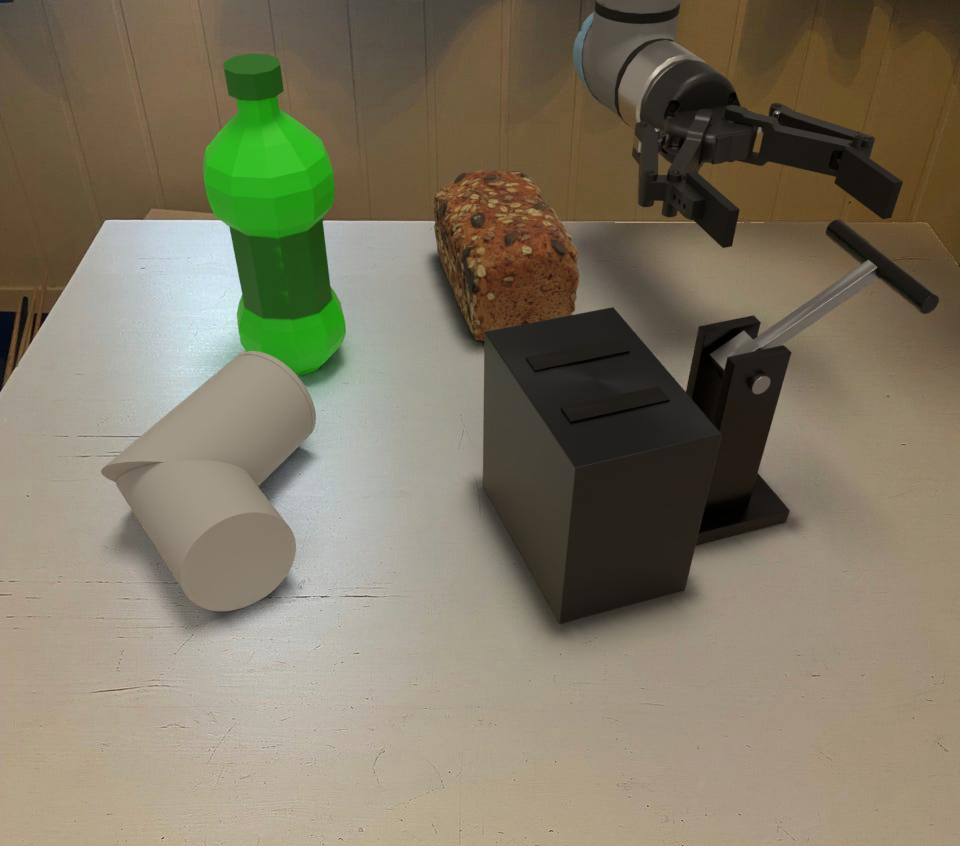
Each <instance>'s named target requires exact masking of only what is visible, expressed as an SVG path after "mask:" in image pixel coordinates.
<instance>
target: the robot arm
mask: <svg viewBox="0 0 960 846" xmlns="http://www.w3.org/2000/svg"><path fill="white" fill-rule="evenodd" d="M681 1H682V0H595V1H594V6H593V12H592V13H591V14H589V15H588V17H586V19H585V20H584V21H583V23H582V25H581V27H580V30H579V31H578V33H577V35H576V38H575V40H574V44H573V50H572V59H573V66H574V70H575V73H576V75H577V77H578V79H579V80H580V81H581V83H582V84H583V85H584V86H585V88H586V89H587V91H588V92H589V93H590V95H591V97H592V98H593V99H594V100H596V101H597V103H599V104H601V105H603V107H606V108H608V110H610V111H611V112H613V113H614V114H615V115H617V116H618V117H619V118H620V119H621V120H622V121H623V122H624V123H625V125H627V126H628V127H629V128H631V129H632V130H634V134H633V142H632V151H631V157H632V158H633V160H635V162H636V163H637V164H638V187H637V188H638V189H637V204H638V206H640V207H642V208H651V207H653V206H654V205H655V201H656V202H662V205H661V206H662V207H661V215H662V216H663V217H666V218H675V217H677V216H678V212H679V214H680V215H681V216H682V217H683V218H685V219H687V220H689V221H693V222H695V224H696V225H697V226H698V227H700V229H702V230H703V232H705V233H706V234H707V235H708V236H709V237H710V238H711V239H712V240H713V241H715V243H717V244H718V245H719V246H720V247H721V248H722V249H726V248H731V247H733V244H734V240H735V239H734V238H735V234H736V230H737V226H738V225H737V224H738V220H739V216H740V211H741V210H740V208H739V207H737V206H736V205H735V204H734V203H733V202H732V201H731V200H730V199H728V198H727V197H726V196H725V195H724V194H723V193H722V192H720V191H719V190H718V189H717V188H716V187H715V186H714V185H712V184H711V183H710V182H709V181H708V180H706V178H704V177H703V176H702V175H701V174H700V173H699V172H700V169H701V168H702V167H703V166H704V165H705V164H711V165H720V164H724V163H726V162H727V163H734V162H736V161H737V162H741V163H745V164H750V165H754V166H758V167H764V166H765V165H766V164H767V163H768V162H769V163H774V164H777V165H781V166H782V165H783V166H787V167H792V168H795V169H800V170H804V171H807V172H808V171H809V172H813V173H817V174H821V175H826V176H831V177H835V179H834V184H835V185H836V186H837V187H839V188H840V189H841V190H843V192H846V193H847V195H850V196H851V198H853V199H854V200H856V201H857V202H859V203H860V204H861V205H862V206H864V207H865V208H867V210H869V211H871V212H872V213H873V214H874V215H876V216H877V217H879V218H880V219H881V220H887V219H892V217H893V213H894V211H895V208H896V205H897V202H898V199H899V195H900V192H901V189H902V186H903V184H904V181H903V180H902V179H900V178H899V177H897V176H896V175H894V174H893V173H891V172H890V171H889V170H888V169H885V167H883V166H881V164H878V163H877V162H876V161H874V160H873V159H871V155H872V152H873V148H874V145H875V141H876V137H875V136H873V135H870V134H867V133H864V132H861V131H859V130H854V129H851V128H848V127H845V126H843V125H840V124H835V123H833V122H830V121H826V120H823V119H821V118H817V117H814V116H812V115H811V116H810V115H808V114H804V113H801V112H799V111H797V110H794V109H792V108H790V107H789V106H787V105H785V104H783V103H780V102H773V103H771V104H770V105H769V110H768V113H767V114H761V113H757V112H754V111H752V110H749V109H748V108H747V107H745V106H741V103H740V100H739V97H738V93H737V91H736V89H735V87H734V85H733V83H732V82H731V81H730V80H729V78H728V77H726V76H725V75H723V74H722V73H720V72H719V71H718V70H717V69H715V68H714V67H712V66H711V65H709V64H708V63H707V62H706V61H705V60H704V59H702V58H700V57H699V56H698V55H696V54H694V53H693V52H692V51H690V50H689V49H687V48H685V46H682V45H681V43H679V42H678V41H676V33H677V27H678V20H679V14H680V8H681ZM758 134H762V137H761V141H760V147H759V151H757V152H756V151H754V149H755V145H756V141H757V137H758ZM659 155H660V156H661V157H662V158H663V159H664V160H665V161H667V162H668V163H669V164H670V165H669V167H668V169H667V174H659Z"/></svg>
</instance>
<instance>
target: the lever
mask: <svg viewBox="0 0 960 846" xmlns="http://www.w3.org/2000/svg"><path fill="white" fill-rule="evenodd" d="M825 235H826V237H827V238H828V239H829V240H830V241H832V242H833V243H834V244H835V245H837V246H838V247H839V248H841V249H842V250H843V251H844V252H845V253H847V254H848V255H849V256H850V257H852V258H853V259H854V261H856V262H858V263H859V264H860V265H858V266H857V267H855V268H854V269H852V270H851V271H850V272H848V273H847V274H845V275H844V276H842V277H840V278H839V279H837V281H835V282H834V283H832V284H831V285H829V286H828V287H826V288H825V289H824V290H822V291H821V292H820V293H818V294H816V295H815V296H814V297H812V298H811V299H809V300H808V301H806V302H805V303H804V304H802V305H800V306H799V307H798V308H797V309H795V310H793V311H792V312H790V313H789V314H787V315H786V316H785V317H783V318H782V319H781V320H779V321H777V322H776V323H775V324H774V325H772V326H770V327H769V328H768V329H766V330H764V331H763V332H762V333H760V334H758V336H757V337H756V338H755V339H752V338H751V337H750V336H749V335H748V334H747V333H746V332H745V331H742V332H741V333H739V334H738V335H737V336H735V337H734V338H732V339H731V340H729V341H728V342H727V343H725V344H724V345H722V346H721V347H719V348H718V349H717V350H715V351H714V352H712V353H711V354H710V357H711V359H712V361H713V364H714V366H715V368H716V371H717V373H718V376H719V377H720V378H721V379H723V374H724V370H725V365H726V361H727V357H730V356H734V355H739V354H744V353H749V352H753V351H758V350H763V349H768V348H772V347H777V346H782V345H784V344H786V343H787V342H788V341H790V340H791V339H793V338H794V337H796V336H797V335H799V334H800V333H802V332H803V331H804V330H806V329H807V328H809V327H811V326H812V325H814V324H815V323H816V322H818V321H819V320H821V319H822V318H823V317H825V316H826V315H828V314H830V313H831V312H832V311H833V310H835V309H837V308H838V307H839V306H841V305H842V304H843V303H845V302H846V301H848V300H850V299H851V298H853V296H855V295H857V294H859V293H860V292H861V291H862V290H864V289H866V288H867V287H869V286H870V285H872V284H873V283H874V282H876V281H877V280H878V279H879V280H880V281H881V282H882V283H883V284H885V285H886V286H888V288H890V289H891V290H892V291H894V292H895V293H896V294H897V295H899V296H900V297H901V298H902V299H903V300H905V301H906V302H907V303H908V304H909V305H910V306H912V307H913V308H914V309H916V310H917V311H918V312H919V313H921V314H923V315H928V314H931V313H932V312H933V311H934V310H935V309H936V308H937V307H938V305H939V302H940V297H939V296H938V294H936V293H935V292H934V291H932V289H930V288H929V287H927V286H925V285H924V284H923V283H922V282H920V280H918V279H917V278H916V277H914V276H913V275H911V274H910V273H909V272H908V271H906V270H905V269H904V268H903V267H901V266H900V265H899V264H897V263H896V262H895V261H893V259H891V258H890V257H889V256H887V255H886V254H885V253H883V252H882V251H881V250H879V249H878V248H877V247H876V246H874V245H873V244H872V243H871V242H869V241H868V240H867V239H865V237H863V236H862V235H861V234H859V233H858V232H856V231H855V230H854V229H853V228H851V227H850V226H849V225H847V224H846V223H845V222H844V221H842V220H841V219H834V220H832V221H831V222H829V224H828V225H827V227H826V229H825Z"/></svg>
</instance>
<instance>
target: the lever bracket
mask: <svg viewBox="0 0 960 846" xmlns="http://www.w3.org/2000/svg"><path fill="white" fill-rule="evenodd" d="M761 323H762V322H761V321H760V320H759V319H758V318H757V317H756V316H755V315H754V314H753V315H748V316H743V317H738V318H732V319H729V320H722V321H719V322H714V323H708V324H704V325H703V324H702V325H699V326H698V328H697V333H696V336H695V337H696V338H695V343H694V347H693V353H692V358H691V363H690V368H689V373H688V379H687V384H686V389H685V392H686V393H687V394H688V395H689V396H690V398H691V399H692V400H693V401H694V402H695V403H696V405H697V406H698V407H699V408H700V409H701V410H702V412H703V413H704V414H705V415H706V416H707V417H708V419H709V420H710V421H711V422H712V423H713V425H714V426H715V427H716V428H717V429H718V430H719V432H720V433H721V434H722V436H721V440H720V445H719V449H718V453H717V457H716V462H715V466H714V470H713V474H712V478H711V483H710V487H709V491H708V495H707V500H706V504H705V508H704V512H703V516H702V521H701V525H700V529H699V533H698V537H697V542H696V546H698V545H701V544H706V543H709V542H713V541H717V540H722V539H725V538H729V537H733V536H737V535H740V534H744V533H748V532H752V531H755V530H756V531H757V530H760V529H764V528H767V527H771V526H775V525H779V524H784V523H786V522H787V521H788V518H789V515H790V512H791V511H790V508H788V506H787V505H786V504H785V503H784V502H783V500H782V499H781V498H780V497H779V496H778V494H777V493H776V492H775V491H774V490H773V488H772V487H770V485H769V484H768V483H767V482H766V480H765V479H764V478H763V477H762V476H761V475H760V474H759V470H760V466H761V463H762V459H763V455H764V452H765V448H766V445H767V441H768V438H769V434H770V431H771V427H772V423H773V420H774V416H775V413H776V410H777V405H778V403H779V399H780V396H781V392H782V388H783V386H784V385H783V384H784V381H785V378H786V374H787V371H788V366H789V363H790V360H791V356H792V351H791V350H790V349H789V348H788V347H787V346H785V345H784V344H783V345H781V346H777V347H772V348H768V349H763V350H758V351H753V352H749V353H744V354H739V355H734V356H730V357H727V361H726V365H725V370H724V374H723V379H721V378H720V377H719V376H718V373H717V371H716V368H715V366H714V364H713V361H712V359H711V357H710V354H711V353H712V352H714V351H715V350H717V349H718V348H719V347H721V346H722V345H724V344H725V343H727V342H728V341H729V340H731V339H732V338H734V337H735V336H737V335H738V334H739V333H741V332H742V331H745V332H746V333H747V334H748V335H749V336H750V337H751V338H752V339H755V338H756V337H758V336H759V331H760V328H761Z"/></svg>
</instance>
